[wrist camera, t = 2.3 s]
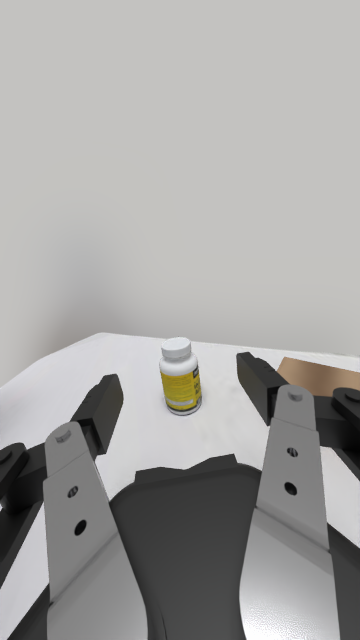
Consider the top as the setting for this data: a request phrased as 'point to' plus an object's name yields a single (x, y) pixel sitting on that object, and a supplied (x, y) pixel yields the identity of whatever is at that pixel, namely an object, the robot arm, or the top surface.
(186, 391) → the supplement bottle
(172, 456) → the top surface
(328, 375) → the plinth
